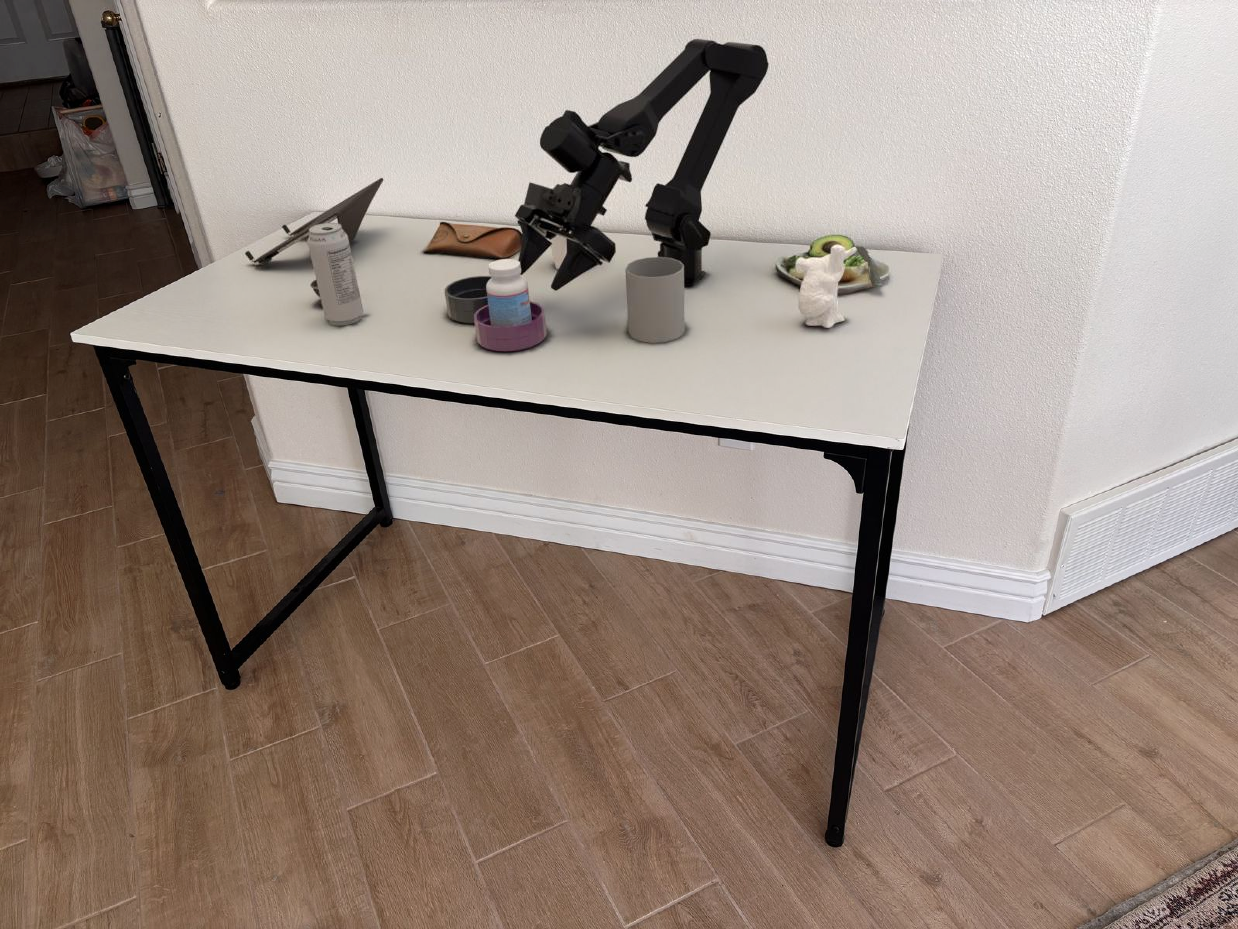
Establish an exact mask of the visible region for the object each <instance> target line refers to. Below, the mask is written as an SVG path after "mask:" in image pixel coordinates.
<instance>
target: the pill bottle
mask: <svg viewBox="0 0 1238 929" xmlns="http://www.w3.org/2000/svg"><path fill="white" fill-rule="evenodd" d="M488 274H489V276H490V277H492V278H491V279H490V280H489V281H488V282H487V285H486V290H487V298H488V305H489V313H490V321H491V326H495V327H508V326H517V325H521V324H525V323H528V322H530V321H532V317H531V309H530V301H531V300H530V291H529V285H528V281H527V279H526V278H525V277H524V276H523V275H520V274H521V265H520V262H519V261H518V259H514V258H500V259H497V260H494V261H492V262H490V263H489V264H488Z"/></svg>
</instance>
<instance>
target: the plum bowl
mask: <svg viewBox="0 0 1238 929" xmlns="http://www.w3.org/2000/svg"><path fill="white" fill-rule="evenodd" d="M530 309H531V317H532V321H530V322H528V323H525V324H521V325H517V326H508V327H495V326H491V321H490V313H489V305H486V306H484V307H482V308H480V309H479V310H477V311H476V313H475V314H474V322H475V323H474V328H475V335H476V336H475V337H476V342H477V343H478V345H480V347H482V348H484V349H487V350H490V351H496V352H517V351H523V350H527V349H530V348H533V347H534V346H536V345H538V344H540V343H541V342H542V341H544V340H545V338H546V337H547V334H548V332H547V323H546V322H547V321H546V312H545V308H544V307H543V306H542V304H540V303H537V302H534V301H532V300H530Z"/></svg>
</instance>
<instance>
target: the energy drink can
mask: <svg viewBox="0 0 1238 929" xmlns="http://www.w3.org/2000/svg"><path fill="white" fill-rule="evenodd" d="M309 232H310V234H309V235H308V236H307V246H308V250H309V254H310V259H311V263H312V267H313V272H314V276H315V280H317V285H318V289H319V293H320V297H321V298H320V297H319V298H320V299H321V302H322V306H323V308H322V310H323V315H324V318H325V320H327V321H329V323H330V324H331V325H333V326H348V325H352V324H355V323H357V322H359V321H360V320H361V319H362V315H363V314H364V307H363V303H362V298H361V293H360V288H359V284H358V279H357V273H356V270H355V265H354V264H355V263H354V260H353V255H352V250H351V245H349V240H348V235H347V234H346V233H345V232H344V231H343V229H342V226H341V224H338V222H330V223H323V224H318V225H315V226H313V227H311V228H310V229H309Z"/></svg>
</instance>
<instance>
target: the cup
mask: <svg viewBox="0 0 1238 929" xmlns="http://www.w3.org/2000/svg"><path fill="white" fill-rule="evenodd" d="M624 270H625V288H626V289H625V290H626V291H625V292H626V310H627V331H628V335H629V336H630V338H631V339H634V340H636V341H639V342H643V343H650V344H656V343H657V344H658V343H666V342H671V341H675V340H677V339H679V338H680V337H681V336H683V335H684V333H685V330H686V329H685V328H686V327H685V325H686V324H685V323H686V320H685V319H686V318H685V316H686V315H685V286H684V265H683V264H682V263H681V262H680V261H678V260H675V259H672V258H664V257H658V256H653V257H652V256H651V257H644V258H639V259H635V260H633V261H631V262H629V263H627V265H626V267H625V269H624Z"/></svg>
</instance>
